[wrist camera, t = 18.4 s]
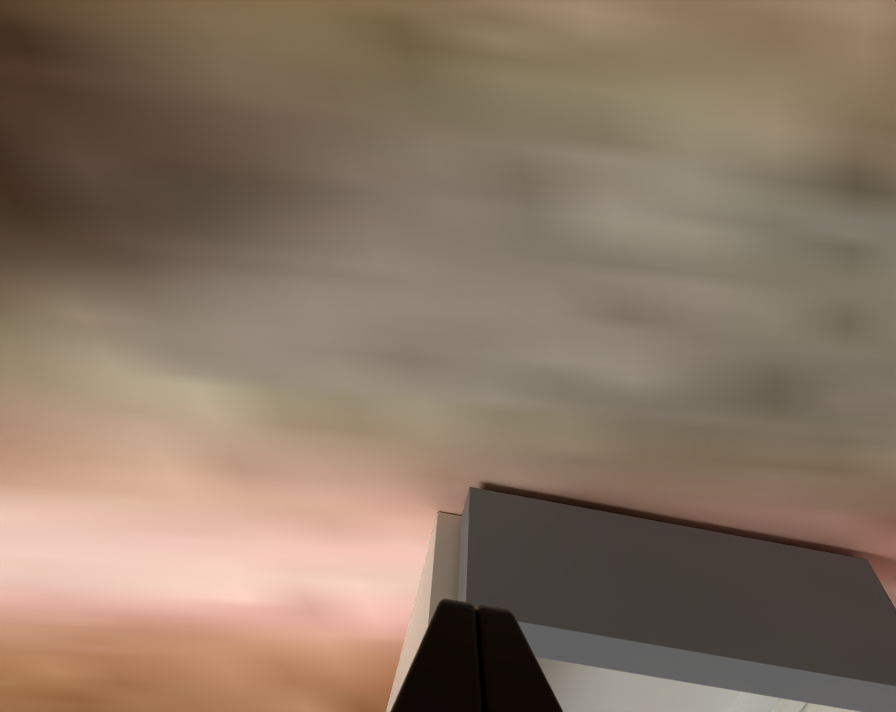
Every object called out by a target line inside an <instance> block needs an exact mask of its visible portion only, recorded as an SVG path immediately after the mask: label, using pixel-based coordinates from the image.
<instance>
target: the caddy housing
mask: <svg viewBox="0 0 896 712" xmlns="http://www.w3.org/2000/svg"><path fill="white" fill-rule="evenodd" d="M460 538H461V516H458V515H453V514H447V513H441V512H438V513H437V516H436V520H435V524H434V528H433V532H432V536H431V540H430V543H429V547H428V551H427V555H426V559H425V563H424V567H423V571H422V574H421V578H420V582H419V586H418V590H417V594H416V598H415V601H414V605H413V609H412V613H411V617H410V621H409V625H408V628H407V632H406V636H405V640H404V644H403V648H402V652H401V655H400V659H399V663H398V667H397V671H396V675H395V679H394V682H393V686H392V690H391V694H390V698H389V702H388V706H387V709H386V712H390V711H391V709H392V706H393V704H394V702H395V700H396V697H397V695H398V693H399V691H400V688H401V686H402V684H403V682H404V679H405V677H406V675H407V673H408V670H409V668H410V666H411V664H412V661H413V659H414V657H415V655H416V652H417V650H418V648H419V646H420V643H421V641H422V639H423V637H424V634H425V632H426V630H427V628H428V625H429V623H430V621H431V619H432V616H433V614H434V612H435V610H436V607H437V605H438V603H439V602H440V601H441V600H442V599H451V600H457V601H458V583H459V561H460ZM800 712H859V711H853V710H847V709H841V708H835V707H830V706H824V705H818V704H812V703H806V704H805V705H804V706H803V708H802V709H801V710H800Z"/></svg>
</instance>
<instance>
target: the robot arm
mask: <svg viewBox="0 0 896 712" xmlns="http://www.w3.org/2000/svg"><path fill="white" fill-rule="evenodd" d="M390 712H563V710H562V708H561V706H560V704H559V702H558V700H557V698H556V696H555V694H554V692H553V690H552V688H551V687H550V685H549V683H548V681H547V679H546V677H545V675H544V673H543V671H542V669H541V667H540V665H539V663H538V661H537V659H536V657H535V655H534V653H533V651H532V649H531V647H530V645H529V643H528V642H527V640H526V638H525V636H524V634H523V632H522V630H521V628H520V626H519V624H518V622H517V620H516V618H515V616H514V615H513V613H512V612H511V611H509V610H507V609H505V608H499V607H493V606H487V605H478V606H477V607H476V608H475V607H474V605H473V604H471V603H469V602H463V601H457V600H451V599H442V600H441V601H440V602H439V603H438V605H437V607H436V610H435V612H434V614H433V616H432V619H431V621H430V623H429V625H428V628H427V630H426V632H425V634H424V637H423V639H422V641H421V643H420V646H419V648H418V650H417V652H416V655H415V657H414V659H413V661H412V664H411V666H410V668H409V670H408V673H407V675H406V677H405V679H404V682H403V684H402V686H401V688H400V691H399V693H398V695H397V697H396V700H395V702H394V704H393V706H392V709H391V711H390Z"/></svg>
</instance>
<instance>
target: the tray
mask: <svg viewBox="0 0 896 712" xmlns="http://www.w3.org/2000/svg"><path fill="white" fill-rule="evenodd" d="M458 601H463V602H469V603H471V604H473V605H474V607H475V608H476V607H477V606H478V605H487V606H493V607H499V608H505V609H507V610H509V611H511V612H512V613H513V615H514V616H515V618H516V620H517V622H518V624H519V626H520V628H521V630H522V632H523V634H524V636H525V638H526V640H527V642H528V643H529V645H530V647H531V649H532V651H533V653H534V655H535V657H536V659H537V661H538V663H539V665H540V667H541V669H542V671H543V673H544V675H545V677H546V679H547V681H548V683H549V685H550V687H551V688H552V690H553V692H554V694H555V696H556V698H557V700H558V702H559V704H560V706H561V708H562V710H563V712H800V710H801V709H802V708H803V706H804V705H805V704H806V703H812V704H818V705H824V706H830V707H835V708H841V709H847V710H853V711H859V712H896V609H895V607H894V605H893V604H892V602H891V600H890V598H889V597H888V595H887V593H886V592H885V590H884V588H883V586H882V585H881V583H880V581H879V579H878V578H877V576H876V574H875V573H874V571H873V569H872V567H871V566H870V564H869V562H868V560H867V559H862V558H856V557H851V556H846V555H840V554H835V553H829V552H824V551H818V550H813V549H807V548H802V547H796V546H791V545H785V544H780V543H774V542H769V541H763V540H758V539H752V538H747V537H741V536H736V535H730V534H725V533H720V532H714V531H709V530H703V529H698V528H692V527H687V526H681V525H676V524H670V523H665V522H659V521H654V520H648V519H643V518H637V517H632V516H626V515H621V514H615V513H610V512H604V511H599V510H594V509H588V508H583V507H577V506H572V505H566V504H561V503H555V502H550V501H544V500H539V499H533V498H528V497H522V496H517V495H511V494H506V493H500V492H495V491H489V490H484V489H478V488H473V487H470V488H469V491H468V495H467V498H466V502H465V505H464V509H463V513H462V516H461V538H460V561H459V583H458Z"/></svg>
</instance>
